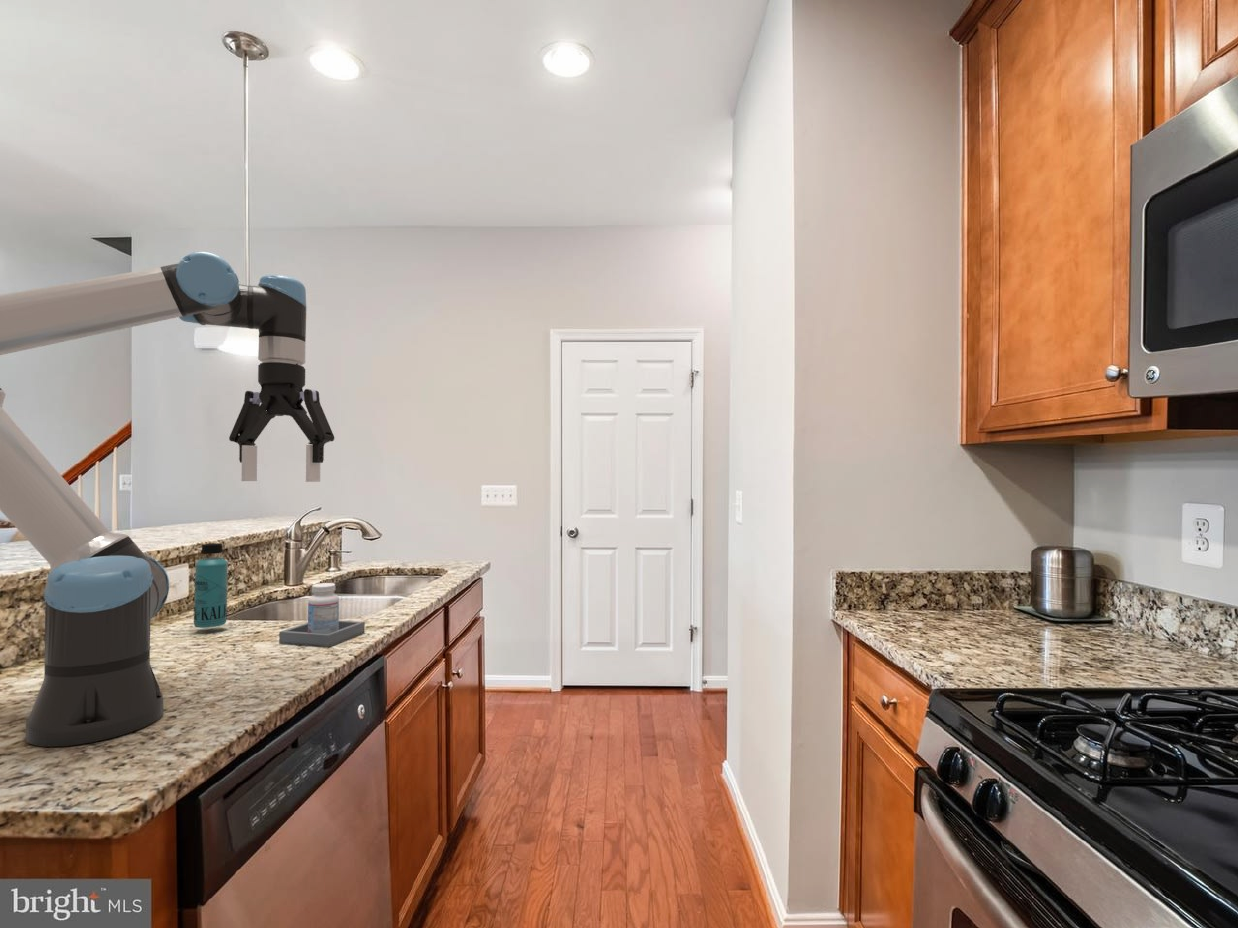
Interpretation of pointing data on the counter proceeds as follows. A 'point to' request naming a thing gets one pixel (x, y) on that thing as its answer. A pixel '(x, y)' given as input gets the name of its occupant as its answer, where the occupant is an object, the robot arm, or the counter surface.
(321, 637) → the tray
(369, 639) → the counter surface
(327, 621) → the pill bottle
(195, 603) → the beverage bottle
